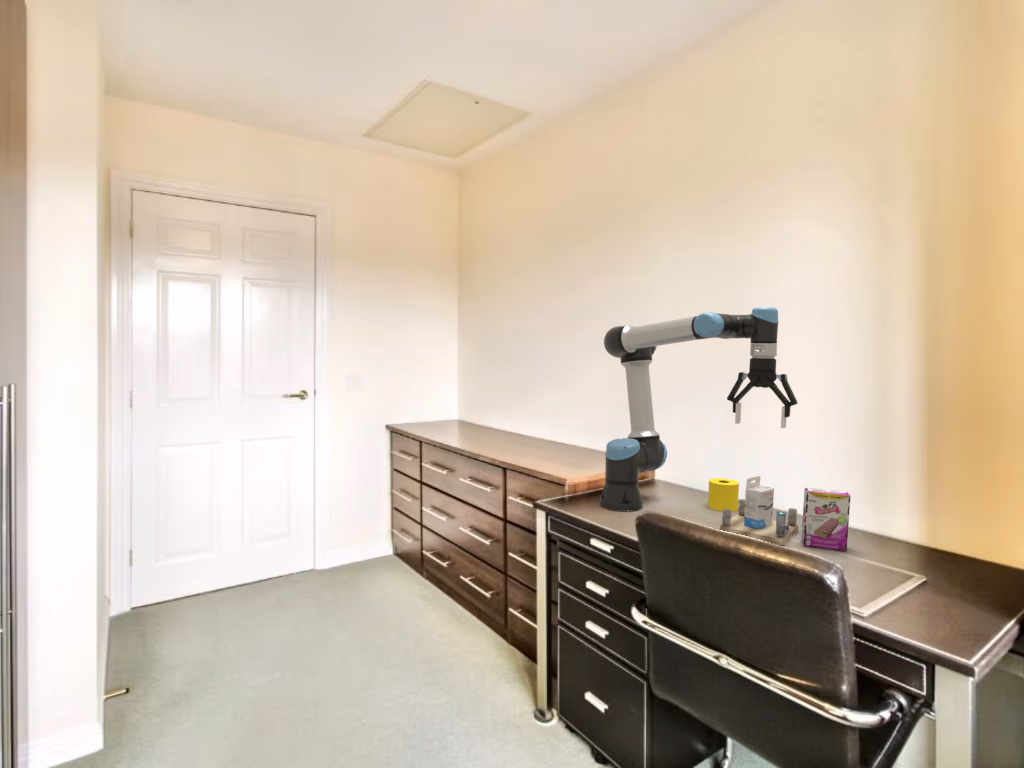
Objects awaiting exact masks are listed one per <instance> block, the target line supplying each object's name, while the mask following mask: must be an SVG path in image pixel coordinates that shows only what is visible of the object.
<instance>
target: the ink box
mask: <svg viewBox="0 0 1024 768" xmlns="http://www.w3.org/2000/svg"><path fill="white" fill-rule="evenodd" d="M754 481H755V482H754ZM774 496H775V488H774V487H771V486H766V485H761V475H757V476H753V477H749V478H747V479H746V485H745V499H744V500H745V516H744V526H748V527H752V528H755V529H761V528H764V527H767V526H770V525H772V520H773V512H774V510H773V509H774Z"/></svg>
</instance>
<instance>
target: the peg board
mask: <svg viewBox="0 0 1024 768" xmlns="http://www.w3.org/2000/svg"><path fill="white" fill-rule="evenodd" d="M787 511H788V512H787V513H788V514H787V521H786V522H785V523H787V524H789V528H790V529H789V531H788V533H787V534H786V535H785V536H779V535H776V519H772V525H770V526H767V527H764V528H761V529H755V528H752V527H748V526H744V516H745V499H742V498H741V499H739V498H738V513H737V514H736V515H734V516H732V512H731V510H730V509H723V511H722V516H721V517H722V520H721V521H722V522H721V524H720V525H719V530H723V531H727V532H732V533H736V534H741V535H745V536H749V537H753V538H756V539H760V540H763V541H767V542H770V543H774V544H777V545H776V546H778V545H782V546H781V547H783V546H784V545H785V544H786V543H788V542H789V541H790V540H791V539H792V538H793V537H794V536H795V535H796V534H797V533H798V532H799V524H797V520H798V519H797V517H798V509H797V508H793V507H789V508H788V510H787ZM774 544H773V545H774Z"/></svg>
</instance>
